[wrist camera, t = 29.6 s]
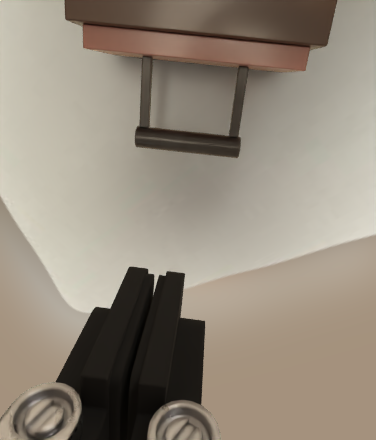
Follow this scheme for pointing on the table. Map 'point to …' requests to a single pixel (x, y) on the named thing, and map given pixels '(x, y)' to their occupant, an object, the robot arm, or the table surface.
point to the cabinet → (215, 18)
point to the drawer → (200, 54)
